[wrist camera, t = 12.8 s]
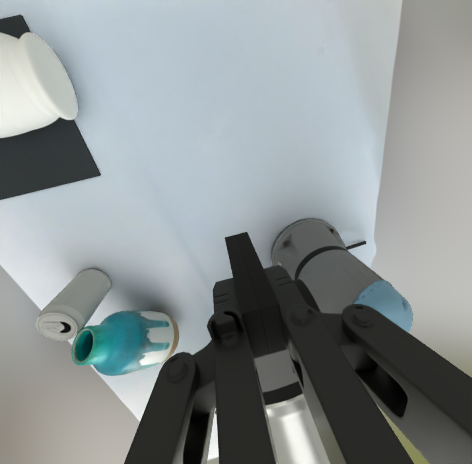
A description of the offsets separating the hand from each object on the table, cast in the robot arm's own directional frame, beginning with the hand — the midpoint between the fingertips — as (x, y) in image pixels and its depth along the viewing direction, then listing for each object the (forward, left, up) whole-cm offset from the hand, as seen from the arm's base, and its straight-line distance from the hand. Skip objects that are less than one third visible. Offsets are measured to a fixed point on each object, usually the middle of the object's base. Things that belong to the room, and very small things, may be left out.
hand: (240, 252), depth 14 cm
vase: (+20, +32, -24) cm, 44 cm away
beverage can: (+29, +14, -27) cm, 42 cm away
